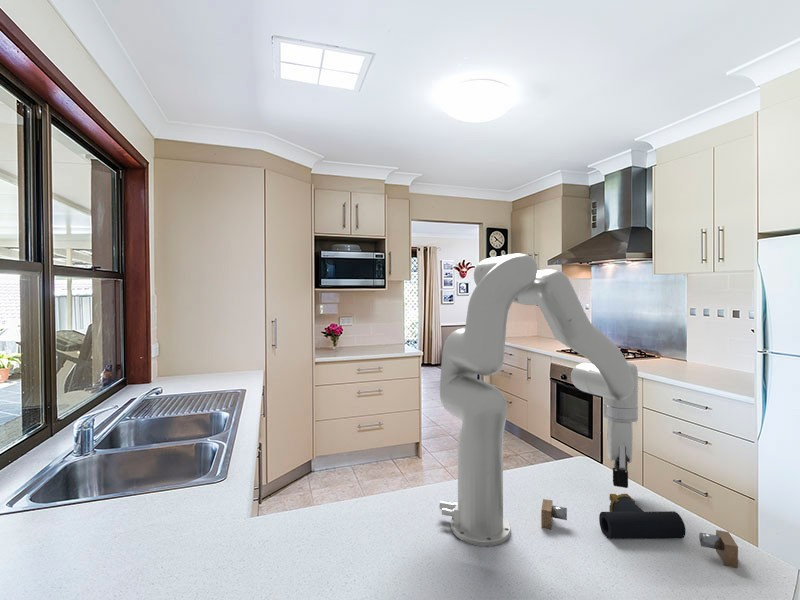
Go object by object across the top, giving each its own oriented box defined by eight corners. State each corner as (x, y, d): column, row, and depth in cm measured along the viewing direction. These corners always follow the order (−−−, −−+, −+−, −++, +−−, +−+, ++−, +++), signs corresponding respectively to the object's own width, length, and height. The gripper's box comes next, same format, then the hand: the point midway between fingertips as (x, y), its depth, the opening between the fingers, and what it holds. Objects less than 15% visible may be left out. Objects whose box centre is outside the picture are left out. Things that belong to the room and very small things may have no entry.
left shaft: (541, 528, 88) (541, 509, 88) (543, 516, 93) (543, 498, 93) (566, 533, 86) (566, 514, 86) (566, 521, 91) (566, 503, 91)
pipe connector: (585, 491, 94) (651, 490, 94) (585, 513, 94) (650, 513, 94) (611, 519, 83) (685, 519, 83) (611, 545, 83) (685, 544, 83)
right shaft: (704, 561, 77) (704, 540, 77) (697, 546, 82) (697, 526, 81) (738, 568, 75) (738, 546, 75) (728, 552, 80) (728, 532, 80)
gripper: (601, 403, 110) (601, 471, 111) (605, 418, 97) (605, 496, 97) (633, 406, 107) (633, 476, 108) (642, 422, 94) (642, 502, 94)
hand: (620, 485), depth 102 cm, fingers closed
